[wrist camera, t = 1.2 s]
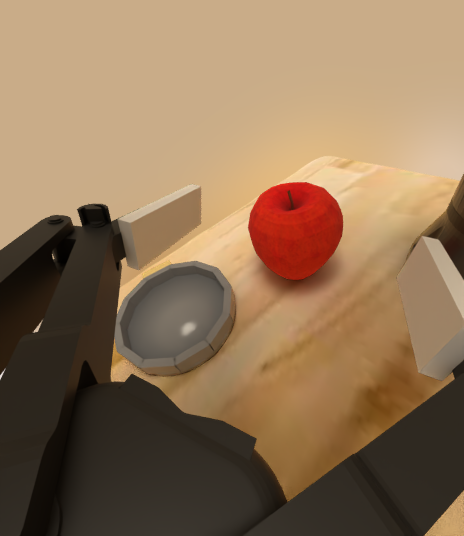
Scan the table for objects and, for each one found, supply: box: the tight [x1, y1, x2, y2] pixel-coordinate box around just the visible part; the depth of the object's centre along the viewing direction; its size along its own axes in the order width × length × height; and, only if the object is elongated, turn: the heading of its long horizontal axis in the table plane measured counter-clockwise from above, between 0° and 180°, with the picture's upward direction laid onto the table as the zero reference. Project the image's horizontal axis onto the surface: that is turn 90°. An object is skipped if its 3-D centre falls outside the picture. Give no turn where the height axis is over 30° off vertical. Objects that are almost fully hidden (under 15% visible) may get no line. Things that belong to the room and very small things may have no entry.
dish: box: [114, 260, 236, 376], centre depth 35 cm, size 17×18×3 cm
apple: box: [248, 182, 343, 280], centre depth 32 cm, size 12×12×13 cm
